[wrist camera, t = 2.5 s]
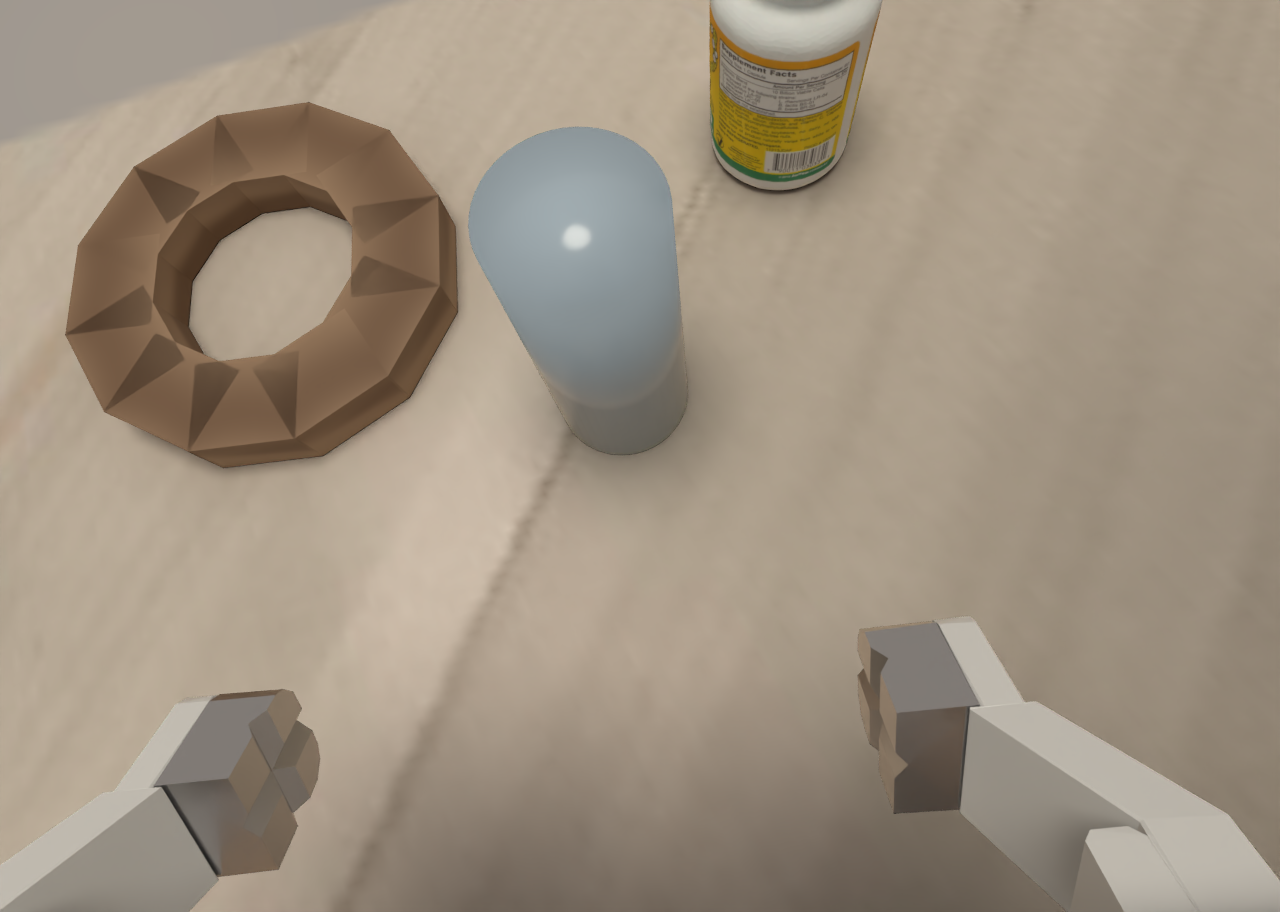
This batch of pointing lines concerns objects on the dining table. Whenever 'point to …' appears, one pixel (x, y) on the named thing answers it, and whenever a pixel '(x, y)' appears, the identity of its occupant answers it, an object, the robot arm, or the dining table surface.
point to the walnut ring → (308, 367)
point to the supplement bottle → (786, 85)
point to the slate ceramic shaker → (589, 280)
